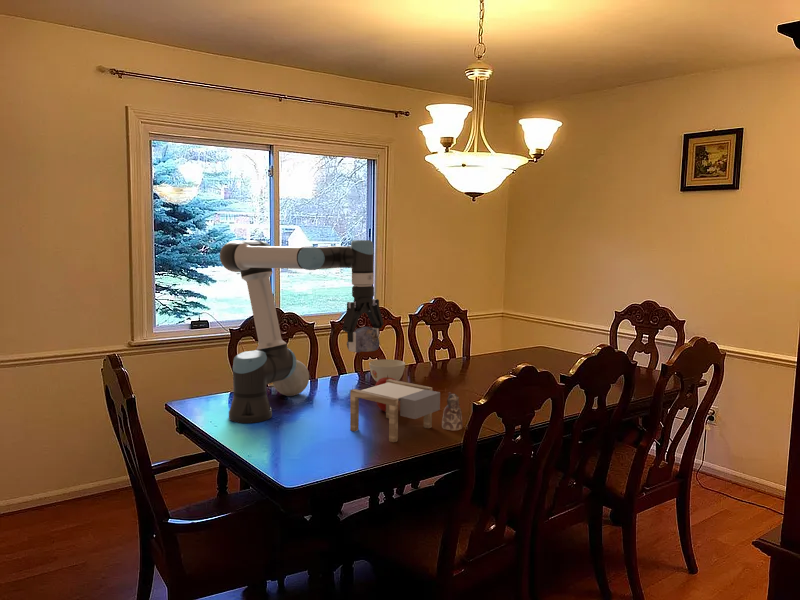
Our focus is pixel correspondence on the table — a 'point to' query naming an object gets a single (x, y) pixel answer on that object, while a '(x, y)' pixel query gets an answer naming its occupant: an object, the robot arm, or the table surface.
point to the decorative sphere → (294, 381)
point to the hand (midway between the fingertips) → (364, 348)
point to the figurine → (452, 414)
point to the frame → (390, 408)
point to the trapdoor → (410, 399)
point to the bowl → (386, 369)
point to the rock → (366, 340)
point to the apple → (379, 382)
